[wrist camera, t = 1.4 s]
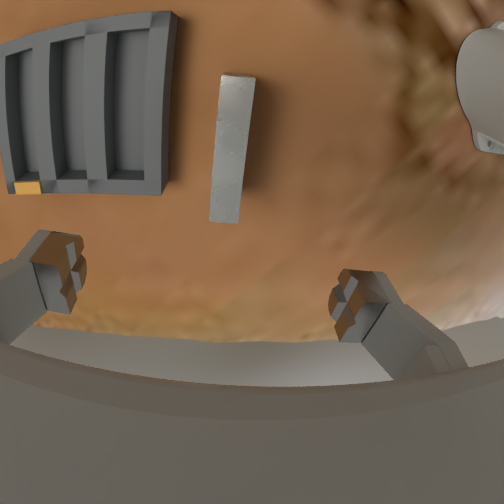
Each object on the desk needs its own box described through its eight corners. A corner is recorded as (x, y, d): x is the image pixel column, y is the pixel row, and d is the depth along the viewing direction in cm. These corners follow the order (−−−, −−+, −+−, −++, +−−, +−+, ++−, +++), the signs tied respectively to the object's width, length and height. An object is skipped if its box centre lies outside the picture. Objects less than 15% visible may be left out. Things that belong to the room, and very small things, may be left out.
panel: (250, 74, 24) (255, 78, 19) (236, 189, 31) (237, 223, 26) (224, 72, 24) (221, 75, 18) (213, 187, 31) (209, 221, 25)
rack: (178, 16, 20) (170, 10, 17) (168, 181, 30) (160, 197, 27) (15, 44, 18) (-6, 46, 15) (23, 180, 28) (7, 195, 25)
